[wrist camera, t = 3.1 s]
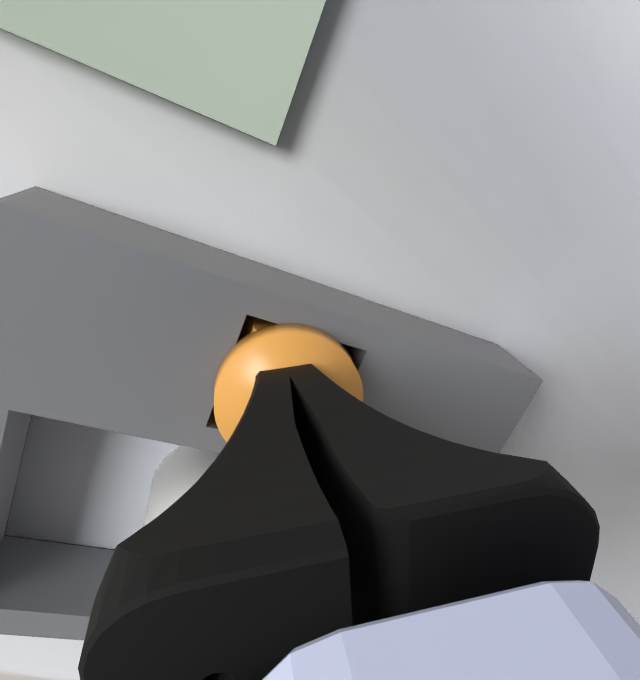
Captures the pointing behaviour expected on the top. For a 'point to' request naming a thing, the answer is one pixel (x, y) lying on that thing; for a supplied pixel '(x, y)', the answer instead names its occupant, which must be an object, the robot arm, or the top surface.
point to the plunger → (276, 364)
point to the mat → (185, 49)
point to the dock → (185, 364)
